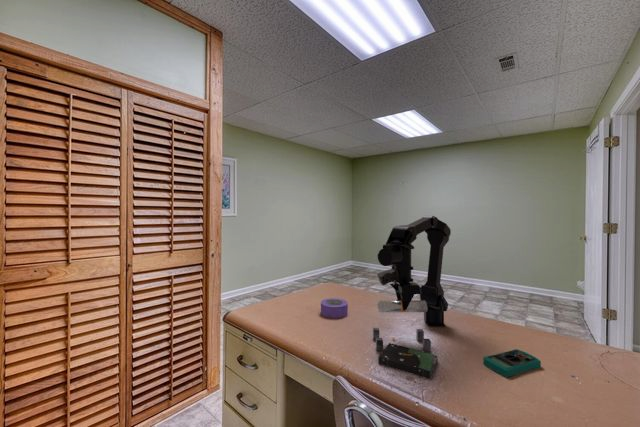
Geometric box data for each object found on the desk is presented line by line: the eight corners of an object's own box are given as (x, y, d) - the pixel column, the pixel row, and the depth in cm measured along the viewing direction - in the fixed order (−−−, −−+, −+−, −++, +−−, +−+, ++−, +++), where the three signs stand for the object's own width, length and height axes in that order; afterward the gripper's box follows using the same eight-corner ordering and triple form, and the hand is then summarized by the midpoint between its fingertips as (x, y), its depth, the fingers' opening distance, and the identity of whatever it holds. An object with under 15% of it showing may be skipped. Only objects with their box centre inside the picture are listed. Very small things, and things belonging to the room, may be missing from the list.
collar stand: (422, 338, 98) (422, 328, 98) (431, 352, 88) (431, 341, 88) (372, 337, 99) (372, 327, 99) (376, 351, 89) (376, 340, 89)
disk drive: (377, 366, 82) (431, 381, 74) (377, 356, 82) (431, 370, 74) (389, 351, 91) (438, 363, 83) (388, 342, 91) (437, 353, 83)
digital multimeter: (542, 368, 80) (542, 358, 80) (506, 379, 75) (506, 368, 75) (516, 356, 87) (516, 347, 87) (481, 365, 82) (481, 355, 82)
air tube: (422, 309, 100) (422, 298, 99) (427, 314, 95) (427, 302, 95) (377, 310, 99) (377, 298, 99) (380, 314, 95) (380, 302, 95)
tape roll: (352, 312, 125) (352, 300, 125) (339, 320, 115) (339, 308, 115) (329, 307, 131) (329, 296, 131) (315, 315, 121) (315, 303, 121)
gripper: (373, 258, 106) (373, 299, 106) (386, 268, 88) (386, 317, 88) (402, 258, 107) (402, 299, 107) (422, 267, 88) (421, 317, 88)
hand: (402, 307), depth 97 cm, fingers closed on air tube, 4 cm apart
